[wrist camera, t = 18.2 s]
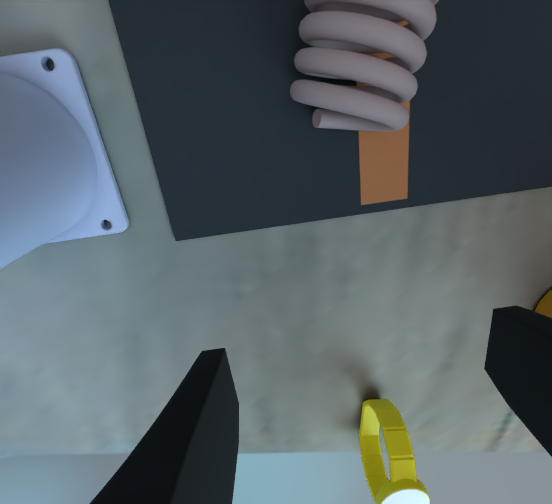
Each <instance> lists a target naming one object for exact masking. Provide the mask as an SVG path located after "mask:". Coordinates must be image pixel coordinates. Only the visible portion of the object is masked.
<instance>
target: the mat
mask: <svg viewBox="0 0 552 504" xmlns="http://www.w3.org/2000/svg"><path fill="white" fill-rule="evenodd" d="M109 3H110V7H111V10H112V14H113V18H114V21H115V25H116V28H117V32H118V36H119V39H120V43H121V46H122V50H123V53H124V57H125V61H126V64H127V68H128V71H129V75H130V79H131V82H132V86H133V89H134V93H135V97H136V100H137V104H138V107H139V111H140V114H141V118H142V122H143V125H144V129H145V132H146V136H147V140H148V143H149V147H150V150H151V154H152V158H153V161H154V165H155V168H156V172H157V176H158V179H159V183H160V186H161V190H162V193H163V197H164V201H165V204H166V208H167V211H168V215H169V219H170V222H171V226H172V229H173V233H174V237H175V240H176V241H180V240H187V239H194V238H201V237H207V236H214V235H221V234H228V233H235V232H242V231H249V230H255V229H262V228H269V227H276V226H283V225H290V224H297V223H303V222H310V221H317V220H324V219H331V218H338V217H344V216H351V215H358V214H365V213H372V212H379V211H386V210H392V209H399V208H406V207H413V206H420V205H427V204H434V203H440V202H447V201H454V200H461V199H468V198H475V197H481V196H488V195H495V194H502V193H509V192H516V191H523V190H529V189H536V188H543V187H550V186H552V0H439V1H438V2H437V3H436V4H435V5H434V7H435V11H436V17H437V19H436V23H435V27H434V30H433V31H432V33H431V34H430V35H429V36H428V37H427V38H426V39H425V40H424V41H423V42H424V43H425V47H426V51H427V55H426V59H425V62H424V64H423V65H422V66H421V67H420V68H419V70H418V71H416V72H415V73H413V74H412V75H413V76H414V77H415V78H416V80H417V85H418V87H417V91H416V94H415V95H414V96H413V98H412V99H411V100H409V101H407V102H405V103H402V104H401V105H402V106H403V107H405V108H406V109H407V111H408V113H409V120H408V123H407V125H406V126H405V127H404V128H402V129H400V130H397V131H391V132H378V131H359V130H343V129H328V128H315V127H314V126H313V123H312V117H313V113H314V111H315V110H316V109H324V108H320V107H316V106H311V105H307V104H303V103H300V102H297V101H295V100H293V98H292V97H291V95H290V88H291V85H292V84H293V83H294V82H295V81H296V80H301V79H303V80H312V81H318V82H324V83H329V84H334V85H346V86H372V85H368V84H365V83H361V82H357V81H353V80H344V79H332V78H324V77H317V76H311V75H307V74H304V73H301V72H299V71H298V70H297V69H296V67H295V63H294V59H295V56H296V54H297V53H298V52H299V51H300V50H301V49H304V48H309V47H314V46H311V45H309V44H307V43H305V42H304V41H303V40H302V39H301V37H300V35H299V25H300V22H301V21H302V20H303V19H304V18H305V17H306V15H308V14H311V12H310V11H309V10H308V8H307V7H306V5H305V3H304V0H109ZM397 24H399V25H401V26H405V25H407V24H409V23H408V22H407V21H401V22H397ZM362 54H366V55H370V56H374V57H377V58H380V59H383V58H391V57H395V56H393V55H391V54H389V53H362ZM325 110H329V109H325Z"/></svg>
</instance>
